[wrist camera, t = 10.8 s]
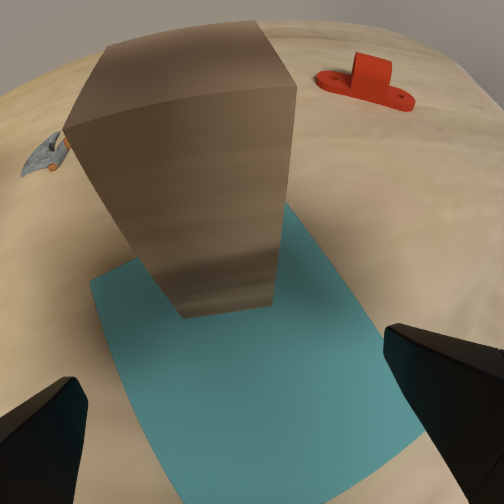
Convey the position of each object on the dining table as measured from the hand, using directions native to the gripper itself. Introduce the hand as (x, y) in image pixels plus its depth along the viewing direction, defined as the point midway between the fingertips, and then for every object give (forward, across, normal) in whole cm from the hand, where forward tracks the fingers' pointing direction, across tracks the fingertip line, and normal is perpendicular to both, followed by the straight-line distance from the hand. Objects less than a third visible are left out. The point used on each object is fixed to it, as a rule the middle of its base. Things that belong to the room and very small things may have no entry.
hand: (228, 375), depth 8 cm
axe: (+29, +15, -16) cm, 36 cm away
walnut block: (+11, 0, +1) cm, 11 cm away
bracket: (+25, -18, -12) cm, 33 cm away
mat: (+7, -1, +5) cm, 9 cm away
